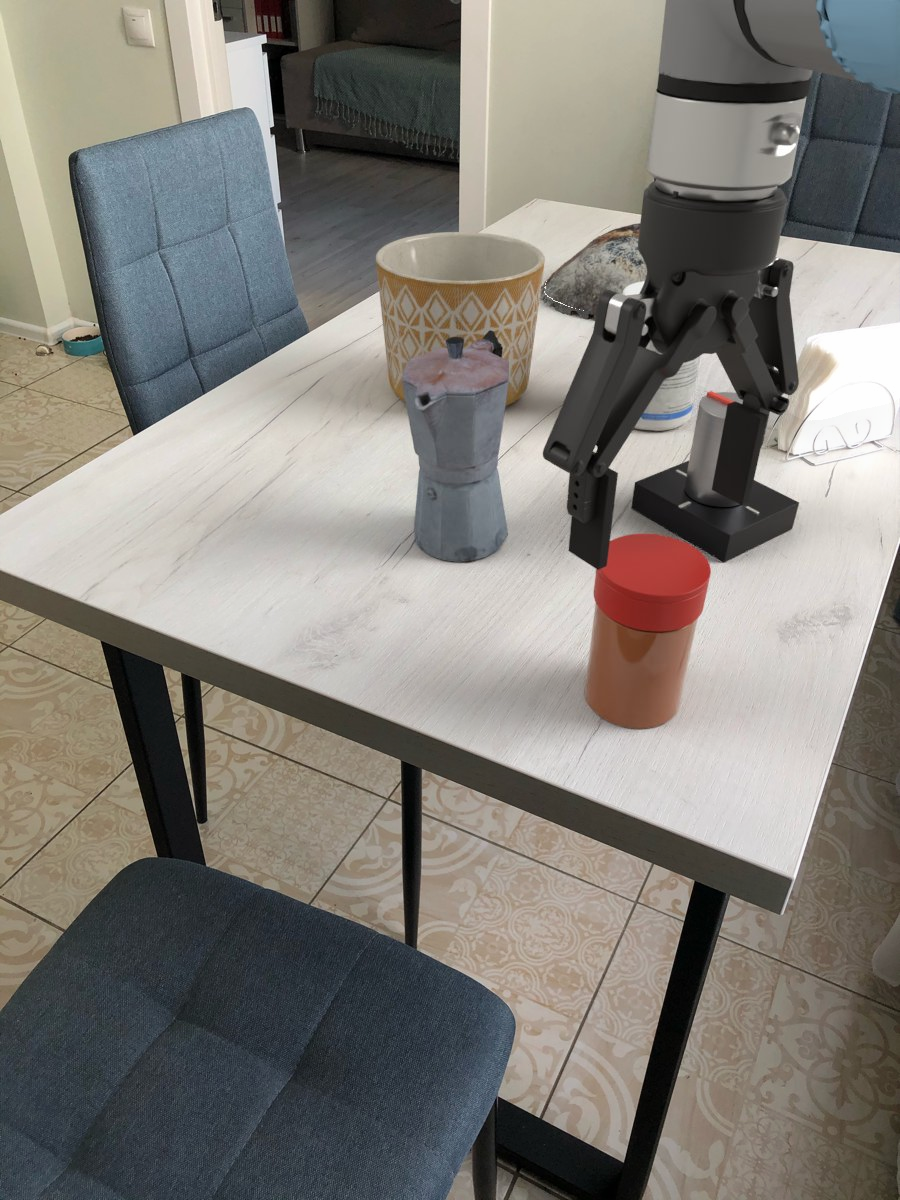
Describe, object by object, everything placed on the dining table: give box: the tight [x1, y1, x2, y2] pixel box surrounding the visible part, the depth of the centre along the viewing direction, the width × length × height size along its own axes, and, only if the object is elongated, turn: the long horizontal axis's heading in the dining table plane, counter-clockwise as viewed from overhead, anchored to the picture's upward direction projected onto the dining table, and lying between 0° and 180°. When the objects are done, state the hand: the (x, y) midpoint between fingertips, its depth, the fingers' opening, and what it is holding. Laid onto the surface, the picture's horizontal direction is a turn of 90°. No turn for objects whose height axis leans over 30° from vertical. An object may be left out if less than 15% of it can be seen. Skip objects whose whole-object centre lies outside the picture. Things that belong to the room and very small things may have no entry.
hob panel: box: [630, 460, 800, 563], centre depth 92 cm, size 12×10×3 cm
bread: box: [540, 222, 647, 320], centre depth 143 cm, size 27×32×10 cm
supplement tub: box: [622, 281, 701, 432], centre depth 107 cm, size 10×10×15 cm
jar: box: [584, 602, 698, 730], centre depth 68 cm, size 7×7×12 cm
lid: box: [593, 533, 712, 632], centre depth 65 cm, size 8×8×3 cm
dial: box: [685, 390, 743, 507], centre depth 88 cm, size 6×6×9 cm
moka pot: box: [402, 330, 509, 563], centre depth 84 cm, size 10×15×20 cm, turn 157°
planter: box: [375, 231, 546, 408], centre depth 112 cm, size 19×19×16 cm
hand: (662, 526), depth 62 cm, fingers open, 13 cm apart
